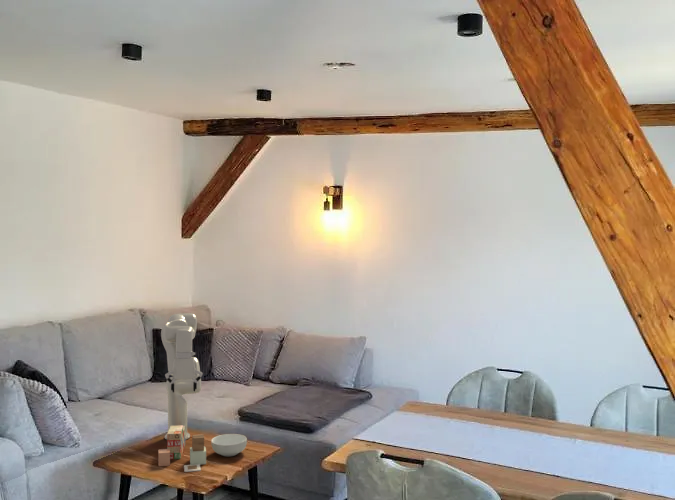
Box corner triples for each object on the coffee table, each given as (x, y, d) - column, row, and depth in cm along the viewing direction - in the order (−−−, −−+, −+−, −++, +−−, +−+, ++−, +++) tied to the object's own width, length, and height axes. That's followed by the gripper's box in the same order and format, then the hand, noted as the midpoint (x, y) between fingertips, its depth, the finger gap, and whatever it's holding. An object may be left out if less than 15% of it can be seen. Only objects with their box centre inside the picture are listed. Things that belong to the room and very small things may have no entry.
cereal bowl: (222, 446, 324) (222, 431, 324) (252, 450, 319) (252, 435, 319) (204, 457, 308) (204, 442, 308) (236, 461, 303) (236, 446, 303)
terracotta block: (158, 462, 301) (158, 449, 300) (169, 461, 302) (169, 448, 302) (158, 466, 296) (158, 453, 296) (169, 465, 297) (170, 452, 297)
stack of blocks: (172, 444, 326) (172, 420, 325) (185, 444, 327) (185, 419, 326) (166, 459, 305) (166, 433, 304) (180, 459, 305) (180, 433, 305)
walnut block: (192, 447, 304) (192, 434, 303) (203, 447, 305) (203, 434, 305) (192, 451, 299) (192, 438, 299) (204, 450, 300) (204, 437, 300)
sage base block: (189, 460, 304) (189, 447, 304) (205, 459, 306) (205, 446, 306) (190, 465, 297) (190, 452, 297) (206, 464, 299) (206, 451, 299)
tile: (183, 466, 296) (183, 464, 296) (199, 465, 298) (199, 463, 298) (184, 472, 289) (184, 470, 289) (200, 470, 291) (200, 469, 291)
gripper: (202, 352, 315) (202, 388, 316) (164, 354, 311) (164, 390, 311) (203, 355, 308) (203, 392, 309) (165, 357, 303) (165, 394, 304)
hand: (183, 391), depth 310 cm, fingers open, 9 cm apart
